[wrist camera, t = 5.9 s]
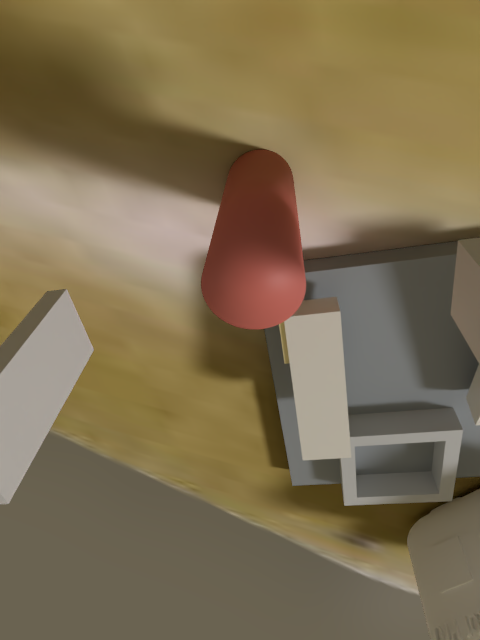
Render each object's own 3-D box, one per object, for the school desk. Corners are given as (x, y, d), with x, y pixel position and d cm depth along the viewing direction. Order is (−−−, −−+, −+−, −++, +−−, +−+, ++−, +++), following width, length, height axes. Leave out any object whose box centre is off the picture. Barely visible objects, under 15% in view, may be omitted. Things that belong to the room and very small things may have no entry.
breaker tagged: (278, 303, 26) (277, 317, 24) (336, 296, 25) (340, 311, 23) (297, 439, 30) (297, 460, 28) (347, 436, 29) (351, 457, 28)
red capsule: (221, 155, 24) (190, 246, 15) (289, 144, 23) (301, 231, 14) (233, 219, 26) (212, 333, 17) (296, 210, 25) (310, 324, 16)
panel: (256, 266, 27) (253, 296, 24) (579, 225, 24) (619, 254, 22) (291, 470, 38) (293, 507, 35) (516, 458, 36) (538, 497, 33)
